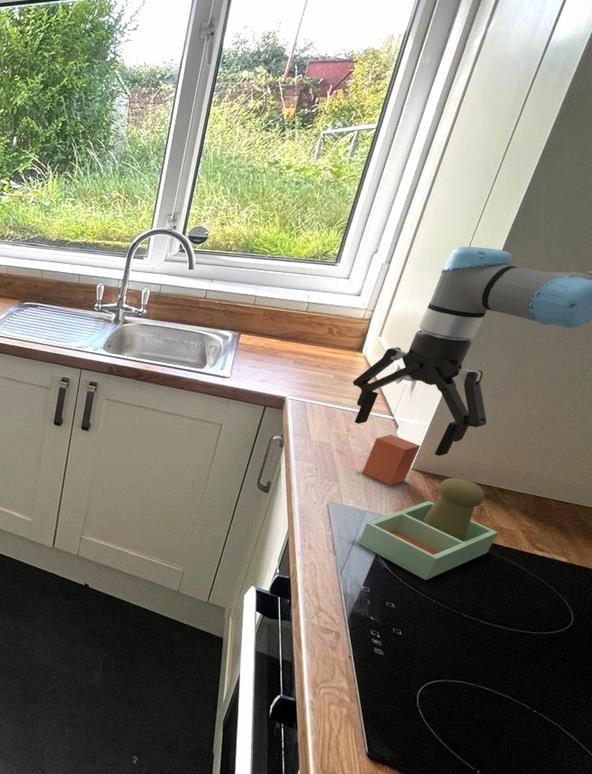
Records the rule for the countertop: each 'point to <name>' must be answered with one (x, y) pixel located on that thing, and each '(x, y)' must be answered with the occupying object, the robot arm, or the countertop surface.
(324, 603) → the countertop surface
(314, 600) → the countertop surface
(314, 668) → the countertop surface
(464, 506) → the cork
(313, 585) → the countertop surface
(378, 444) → the terracotta block
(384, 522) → the sorting tray
